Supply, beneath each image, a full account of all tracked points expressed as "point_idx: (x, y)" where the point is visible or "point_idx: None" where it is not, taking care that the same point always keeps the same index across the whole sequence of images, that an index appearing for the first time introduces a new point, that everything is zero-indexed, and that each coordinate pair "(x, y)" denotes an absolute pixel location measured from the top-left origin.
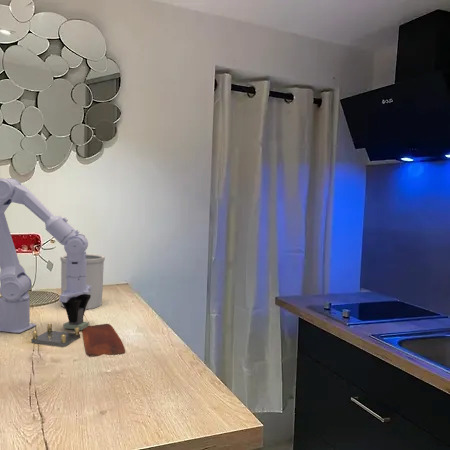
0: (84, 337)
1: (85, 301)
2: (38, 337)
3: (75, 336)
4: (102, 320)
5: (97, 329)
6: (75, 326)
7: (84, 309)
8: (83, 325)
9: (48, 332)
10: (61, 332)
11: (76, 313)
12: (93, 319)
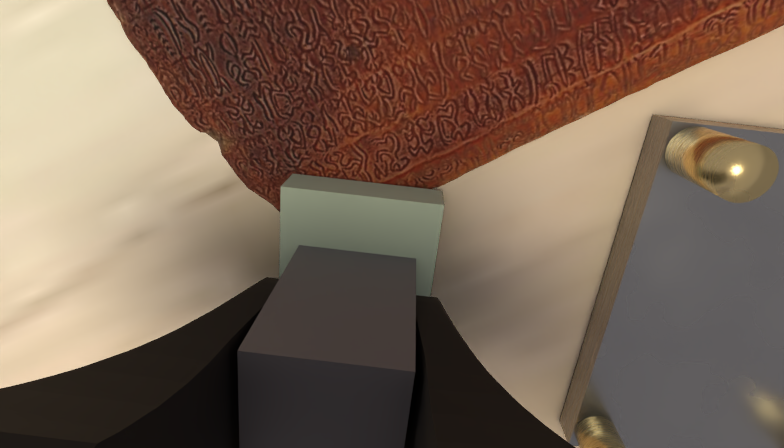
0: (726, 41)
1: (163, 411)
2: (782, 445)
3: (766, 138)
4: (16, 120)
5: (401, 8)
6: (432, 273)
7: (219, 325)
8: (402, 199)
9: (631, 426)
10: (627, 327)
11: (465, 353)
12: (36, 227)
